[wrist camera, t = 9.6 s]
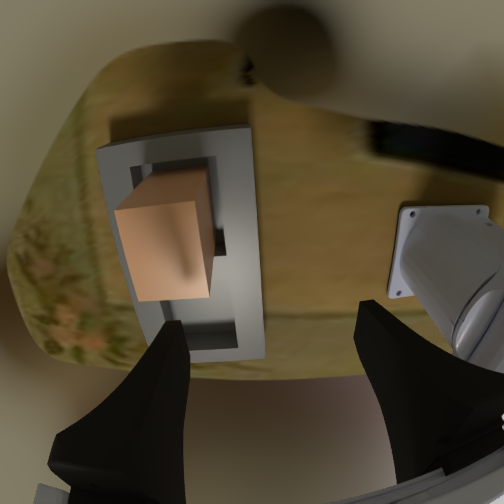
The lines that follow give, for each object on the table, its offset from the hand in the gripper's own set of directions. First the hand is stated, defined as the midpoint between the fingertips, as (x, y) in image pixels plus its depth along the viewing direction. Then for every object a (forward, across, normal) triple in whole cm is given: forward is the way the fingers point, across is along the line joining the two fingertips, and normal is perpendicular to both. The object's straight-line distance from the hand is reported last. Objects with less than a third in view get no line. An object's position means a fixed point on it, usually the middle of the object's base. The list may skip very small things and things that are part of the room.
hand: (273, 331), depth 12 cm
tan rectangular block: (+10, +4, -2) cm, 11 cm away
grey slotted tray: (+10, +4, +2) cm, 11 cm away
